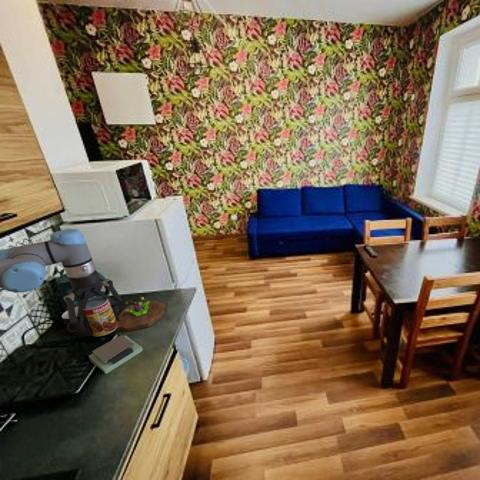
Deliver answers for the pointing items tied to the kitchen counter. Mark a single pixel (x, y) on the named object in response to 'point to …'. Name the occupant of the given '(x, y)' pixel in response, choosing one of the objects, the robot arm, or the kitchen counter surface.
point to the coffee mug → (73, 324)
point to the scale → (116, 358)
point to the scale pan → (112, 348)
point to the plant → (140, 315)
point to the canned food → (100, 316)
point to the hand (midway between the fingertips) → (104, 326)
